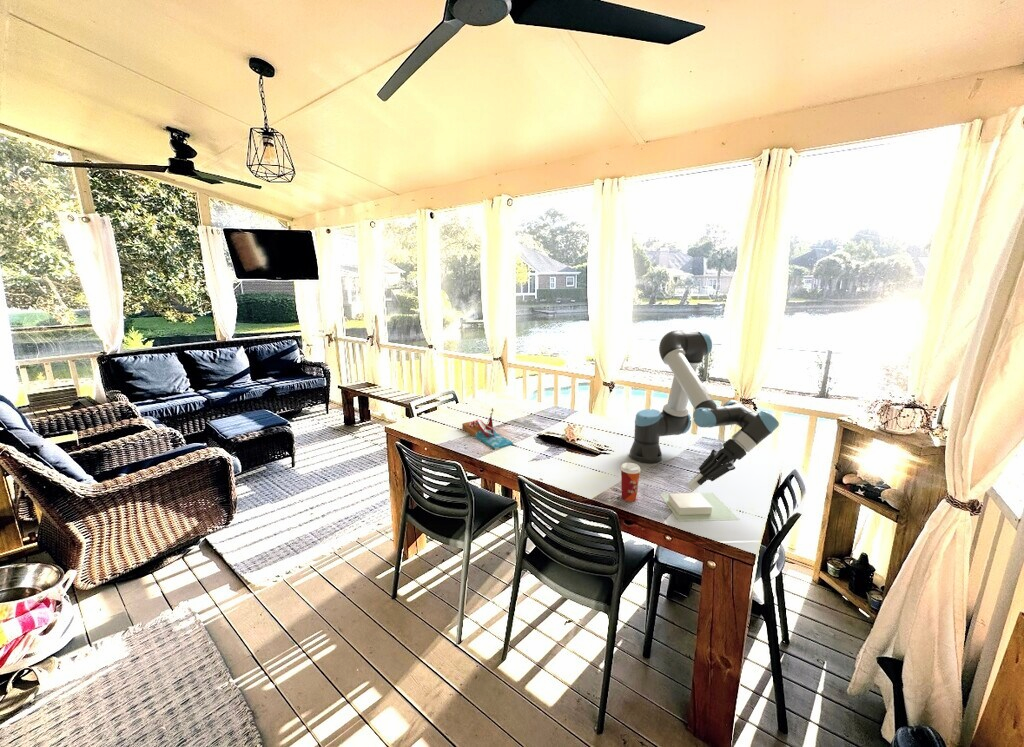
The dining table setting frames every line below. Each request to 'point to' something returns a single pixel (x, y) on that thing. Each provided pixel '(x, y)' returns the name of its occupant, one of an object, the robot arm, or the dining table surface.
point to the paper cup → (629, 481)
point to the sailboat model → (486, 433)
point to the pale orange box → (689, 504)
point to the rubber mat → (718, 513)
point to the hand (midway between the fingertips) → (690, 487)
